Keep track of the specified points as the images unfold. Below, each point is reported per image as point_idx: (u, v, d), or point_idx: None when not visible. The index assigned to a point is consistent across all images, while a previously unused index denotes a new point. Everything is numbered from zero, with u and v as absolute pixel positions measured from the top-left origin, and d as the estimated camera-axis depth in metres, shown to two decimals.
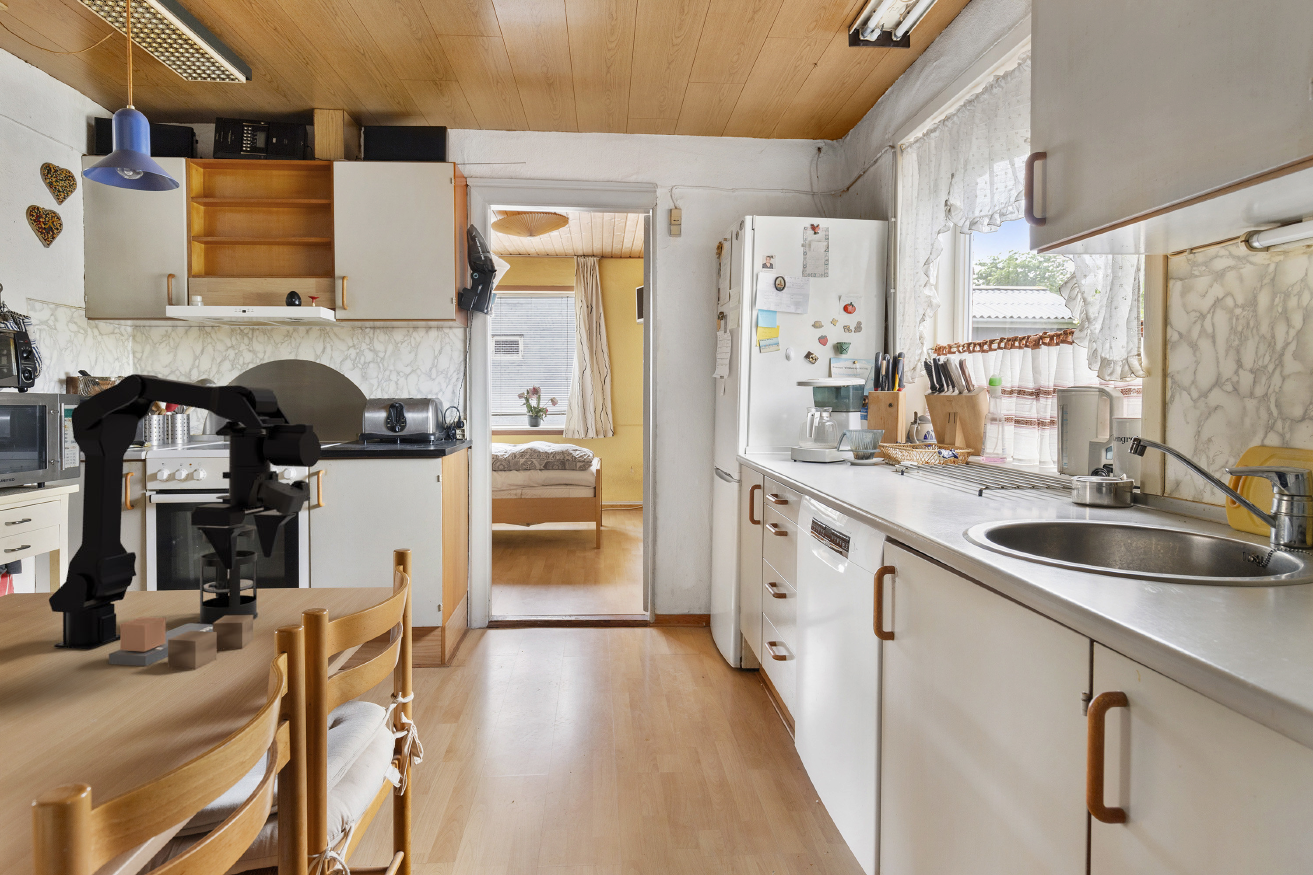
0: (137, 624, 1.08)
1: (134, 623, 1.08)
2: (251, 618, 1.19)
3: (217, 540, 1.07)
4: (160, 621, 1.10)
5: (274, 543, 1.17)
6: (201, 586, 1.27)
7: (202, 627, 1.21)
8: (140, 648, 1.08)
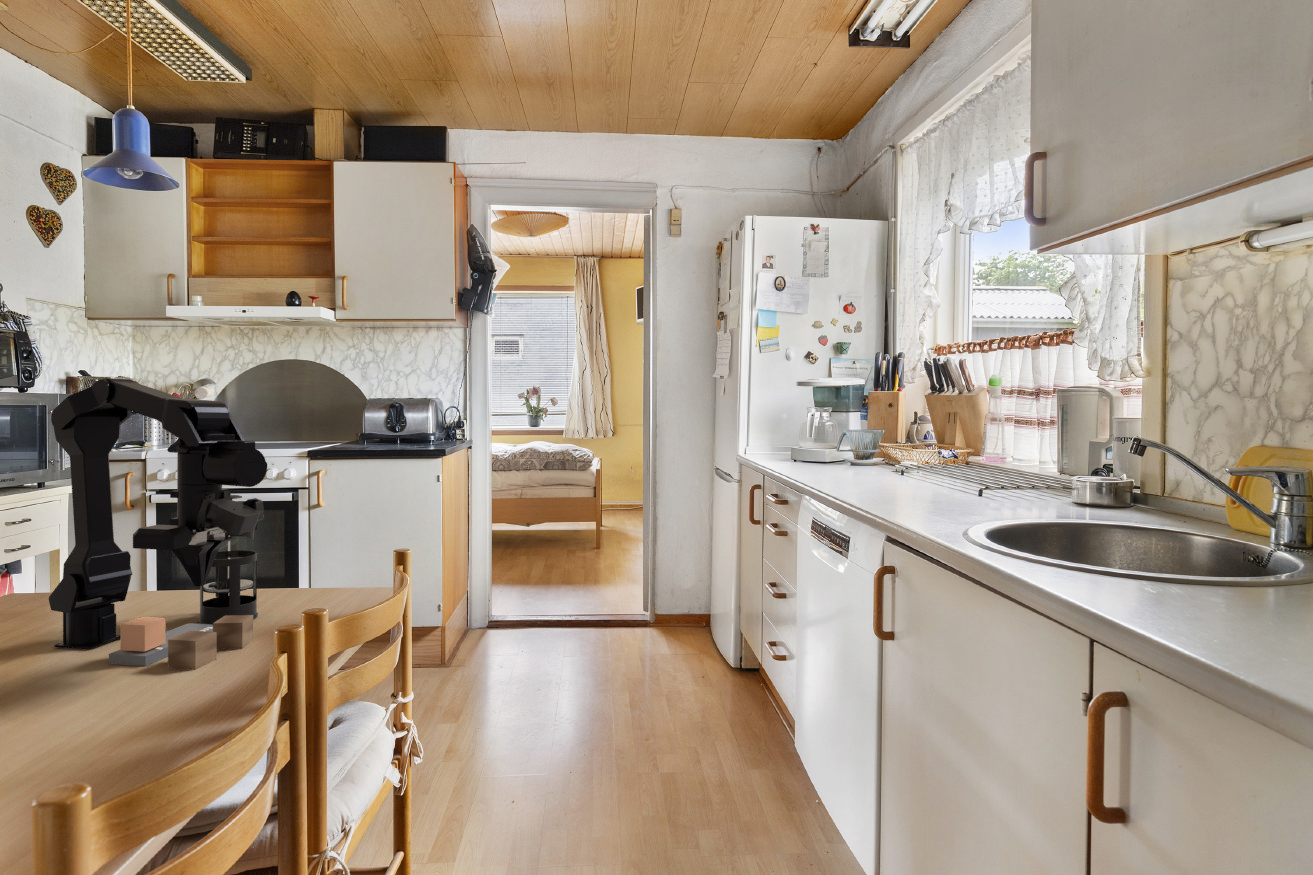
0: (137, 624, 1.08)
1: (134, 623, 1.08)
2: (251, 618, 1.19)
3: (186, 557, 1.06)
4: (160, 621, 1.10)
5: (207, 570, 1.08)
6: (201, 586, 1.27)
7: (202, 627, 1.21)
8: (140, 648, 1.08)
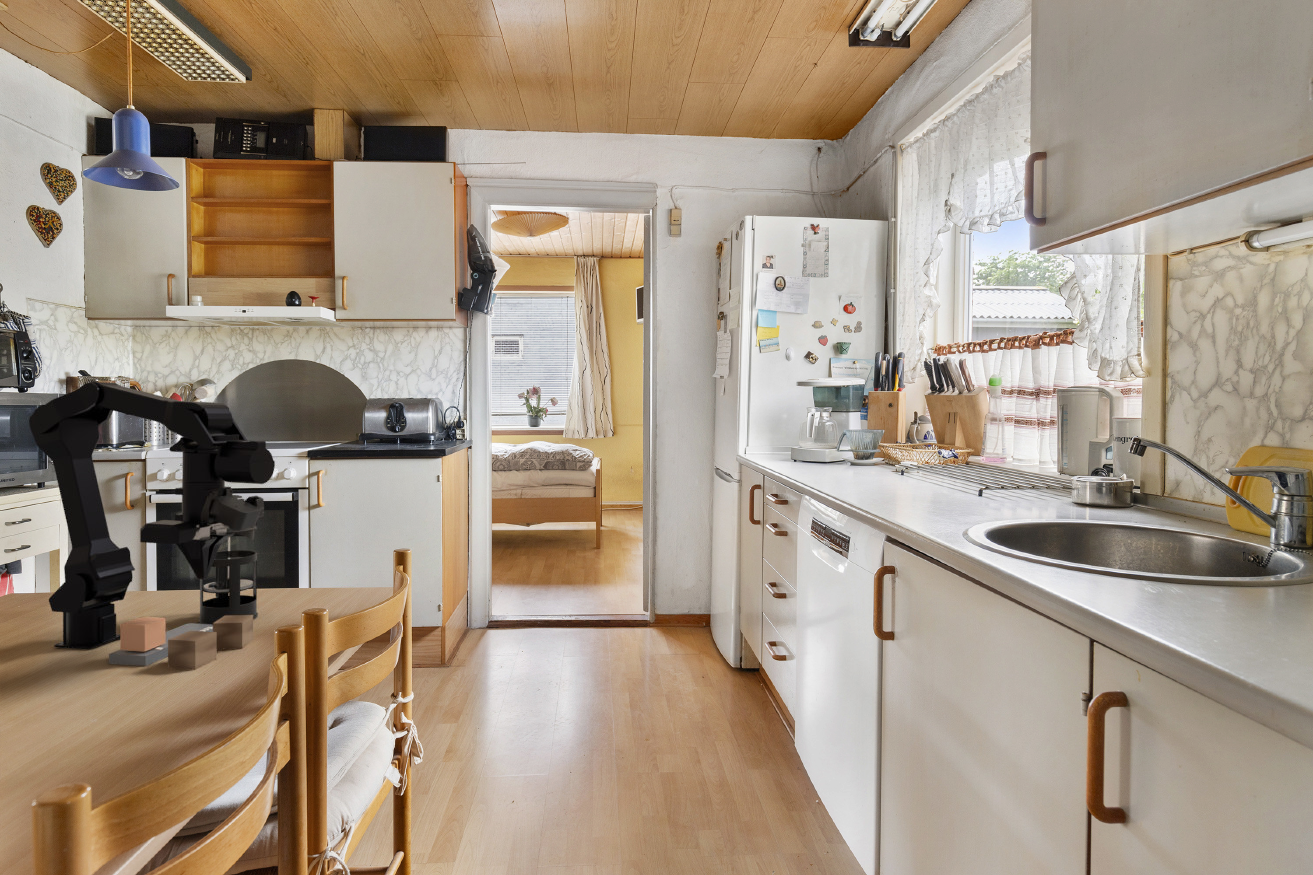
0: (137, 624, 1.08)
1: (134, 623, 1.08)
2: (251, 618, 1.19)
3: (189, 551, 1.11)
4: (160, 621, 1.10)
5: (210, 564, 1.13)
6: (201, 586, 1.27)
7: (202, 627, 1.21)
8: (140, 648, 1.08)
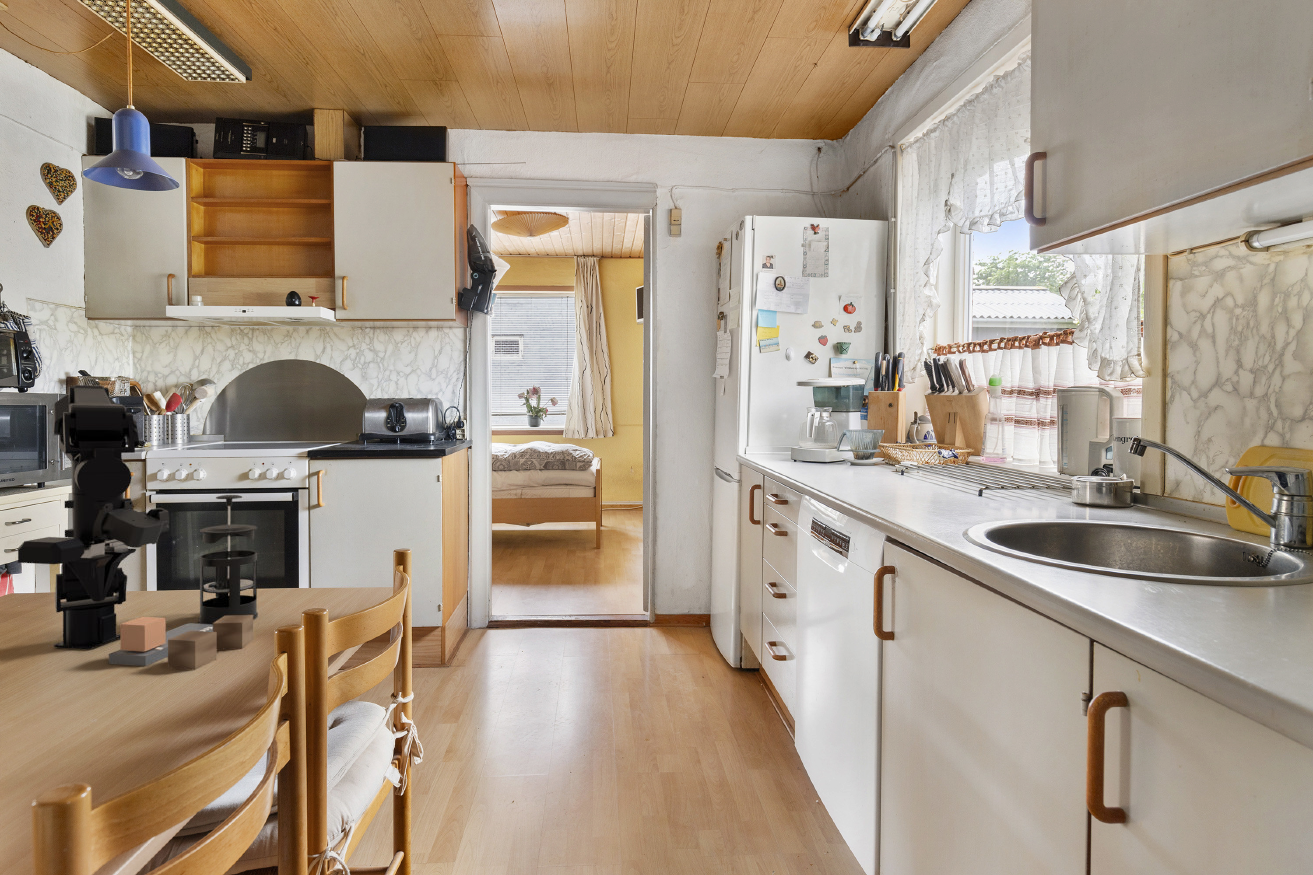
0: (137, 624, 1.08)
1: (134, 623, 1.08)
2: (251, 618, 1.19)
3: (82, 571, 1.00)
4: (160, 621, 1.10)
5: (107, 584, 1.02)
6: (201, 586, 1.27)
7: (202, 627, 1.21)
8: (140, 648, 1.08)
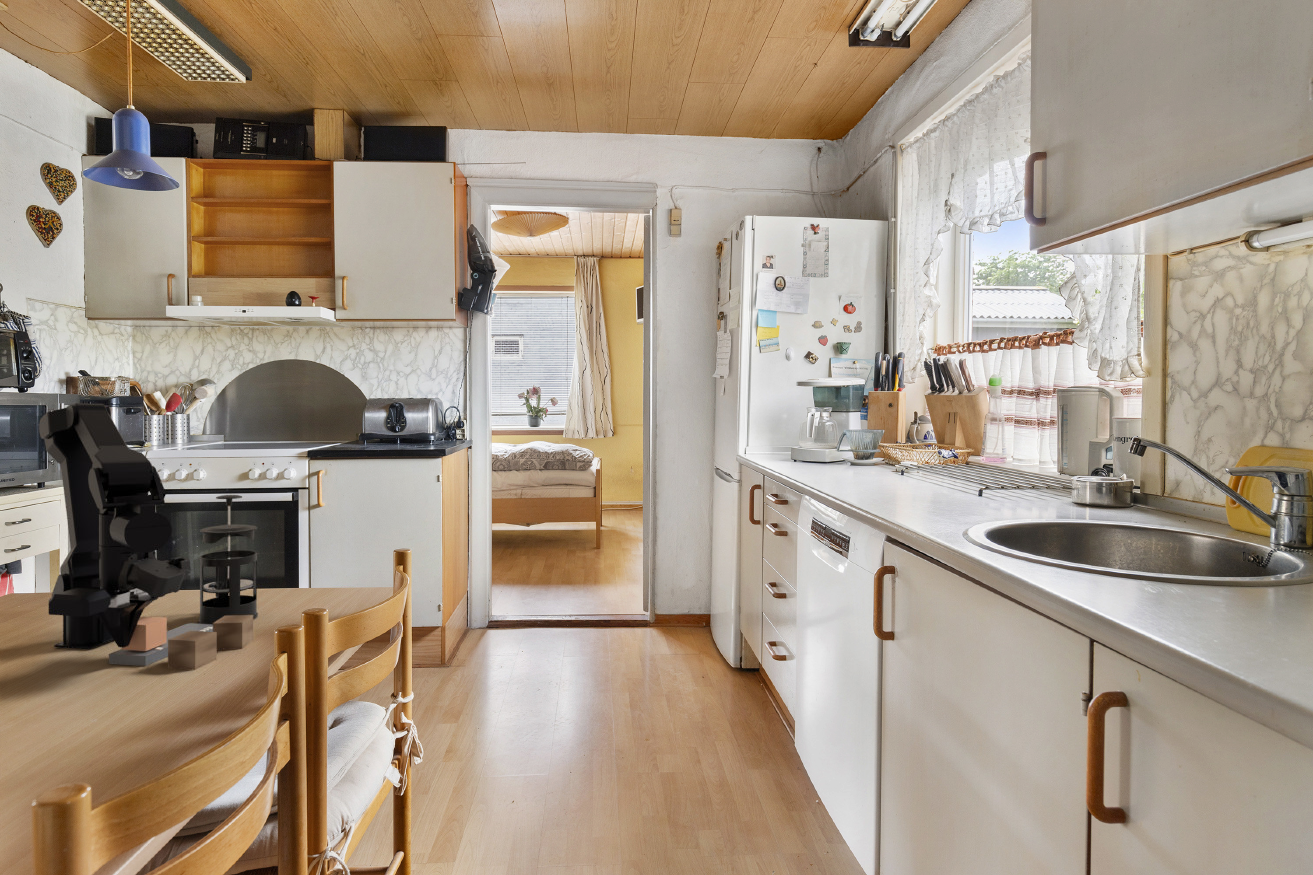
0: (138, 624, 1.08)
1: None
2: (251, 618, 1.19)
3: (108, 618, 1.05)
4: (161, 621, 1.11)
5: (131, 631, 1.06)
6: (201, 586, 1.27)
7: (202, 627, 1.21)
8: (141, 648, 1.08)
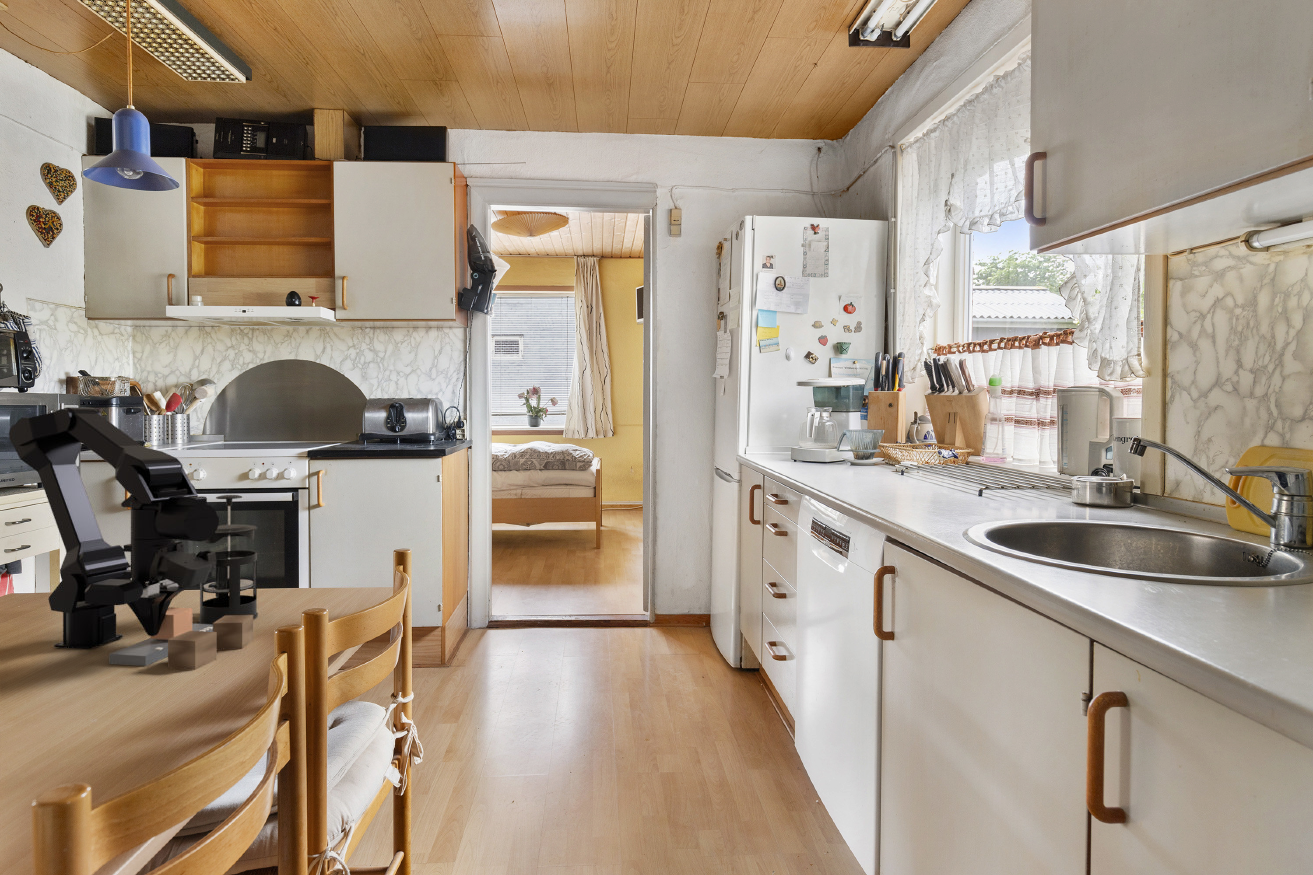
0: (166, 614, 1.14)
1: None
2: (251, 618, 1.19)
3: (139, 608, 1.10)
4: (187, 611, 1.16)
5: (160, 620, 1.12)
6: (201, 586, 1.27)
7: (202, 627, 1.21)
8: (169, 636, 1.13)
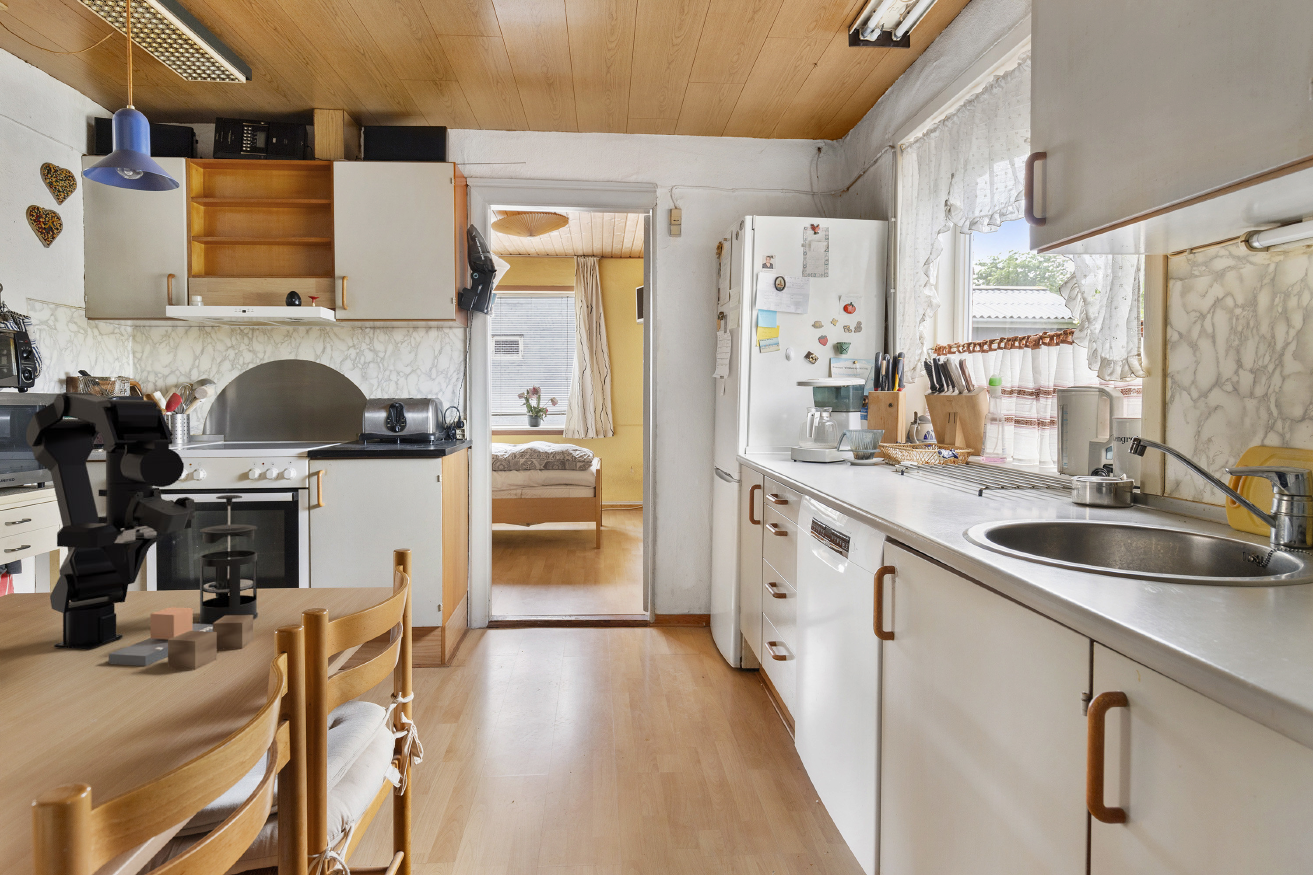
0: (166, 614, 1.14)
1: (163, 613, 1.14)
2: (251, 618, 1.19)
3: (114, 555, 1.07)
4: (188, 611, 1.16)
5: (137, 568, 1.09)
6: (201, 586, 1.27)
7: (202, 627, 1.21)
8: (169, 636, 1.13)
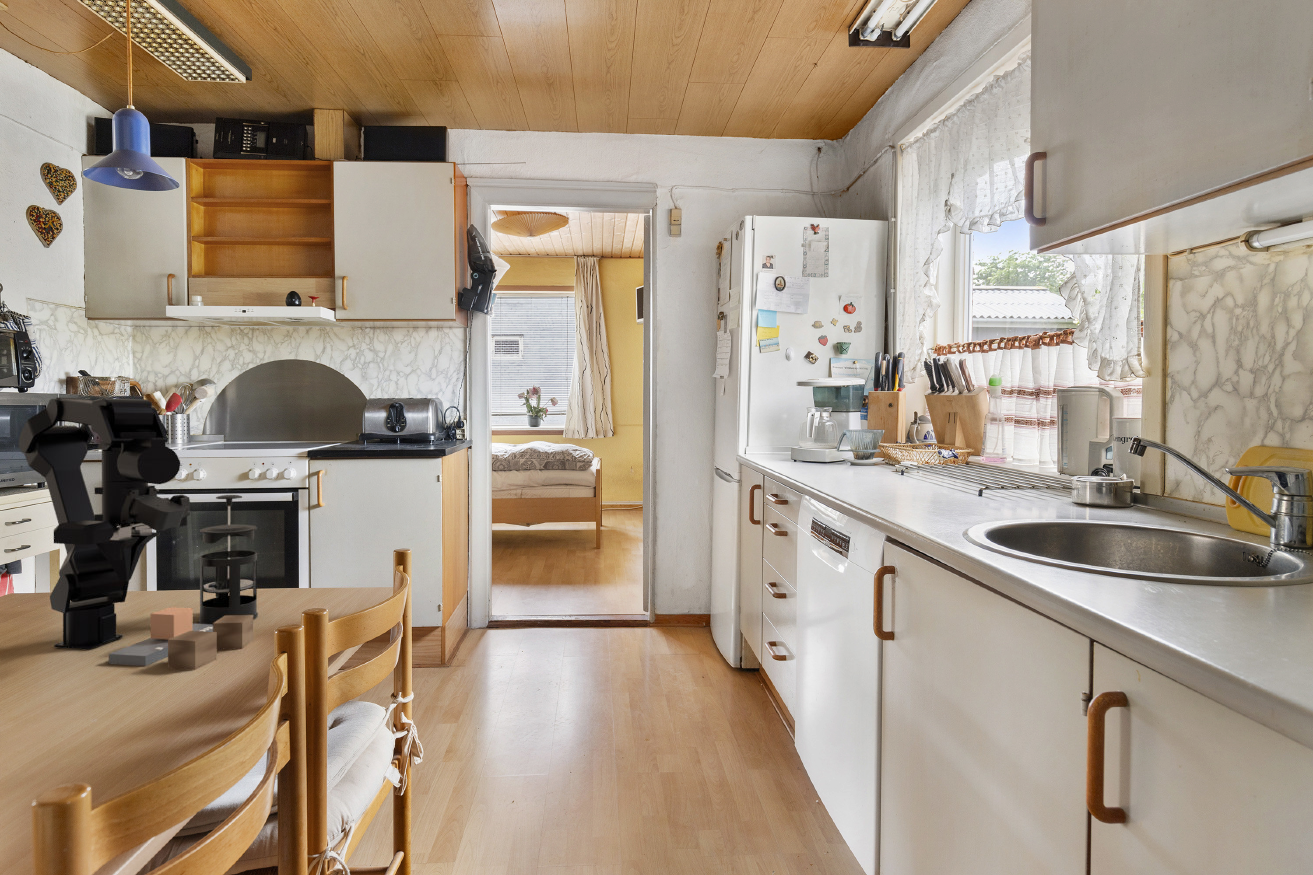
0: (166, 614, 1.14)
1: (163, 613, 1.14)
2: (251, 618, 1.19)
3: (111, 552, 1.08)
4: (188, 611, 1.16)
5: (133, 565, 1.10)
6: (201, 586, 1.27)
7: (202, 627, 1.21)
8: (169, 636, 1.13)
